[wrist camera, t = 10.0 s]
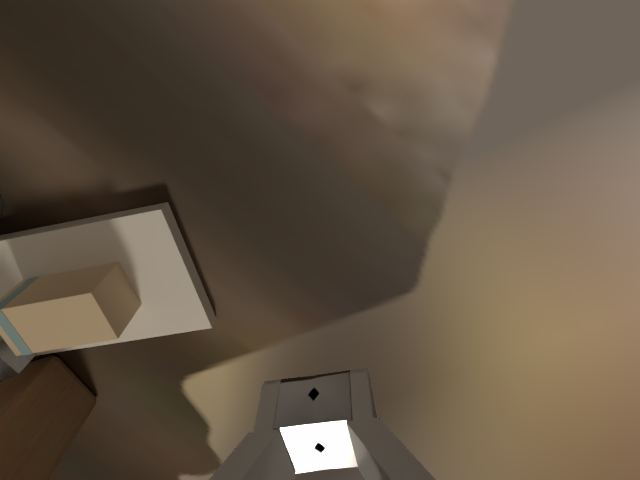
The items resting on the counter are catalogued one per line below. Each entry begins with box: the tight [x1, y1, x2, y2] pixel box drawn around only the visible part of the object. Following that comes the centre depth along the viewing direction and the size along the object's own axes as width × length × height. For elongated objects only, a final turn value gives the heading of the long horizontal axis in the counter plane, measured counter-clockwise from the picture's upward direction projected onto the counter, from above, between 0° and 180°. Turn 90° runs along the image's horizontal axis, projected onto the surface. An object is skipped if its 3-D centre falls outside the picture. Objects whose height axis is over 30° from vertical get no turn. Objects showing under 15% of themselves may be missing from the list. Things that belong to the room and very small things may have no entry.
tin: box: [0, 335, 37, 382], centre depth 48 cm, size 4×4×5 cm
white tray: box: [0, 202, 216, 356], centre depth 48 cm, size 16×28×2 cm, turn 102°
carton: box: [0, 262, 141, 356], centre depth 44 cm, size 6×6×12 cm
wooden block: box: [0, 355, 96, 480], centre depth 48 cm, size 10×10×20 cm
